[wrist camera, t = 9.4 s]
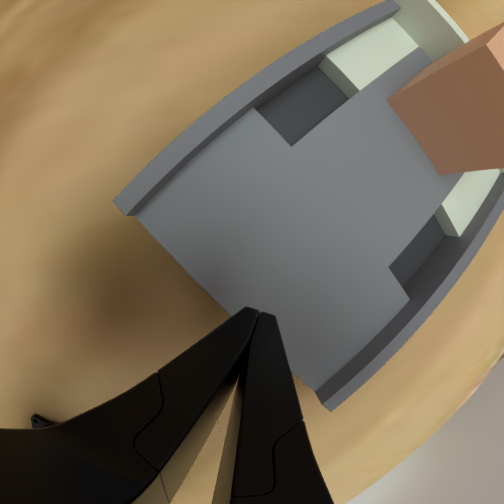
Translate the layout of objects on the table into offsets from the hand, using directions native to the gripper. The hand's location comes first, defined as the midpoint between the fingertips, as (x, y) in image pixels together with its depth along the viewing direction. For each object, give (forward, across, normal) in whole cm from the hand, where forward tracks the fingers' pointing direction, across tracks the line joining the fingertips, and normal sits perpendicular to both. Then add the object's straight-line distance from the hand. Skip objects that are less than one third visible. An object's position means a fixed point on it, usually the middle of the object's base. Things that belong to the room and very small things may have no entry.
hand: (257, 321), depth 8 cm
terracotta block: (+15, -8, -8) cm, 18 cm away
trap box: (+13, -4, -2) cm, 14 cm away
